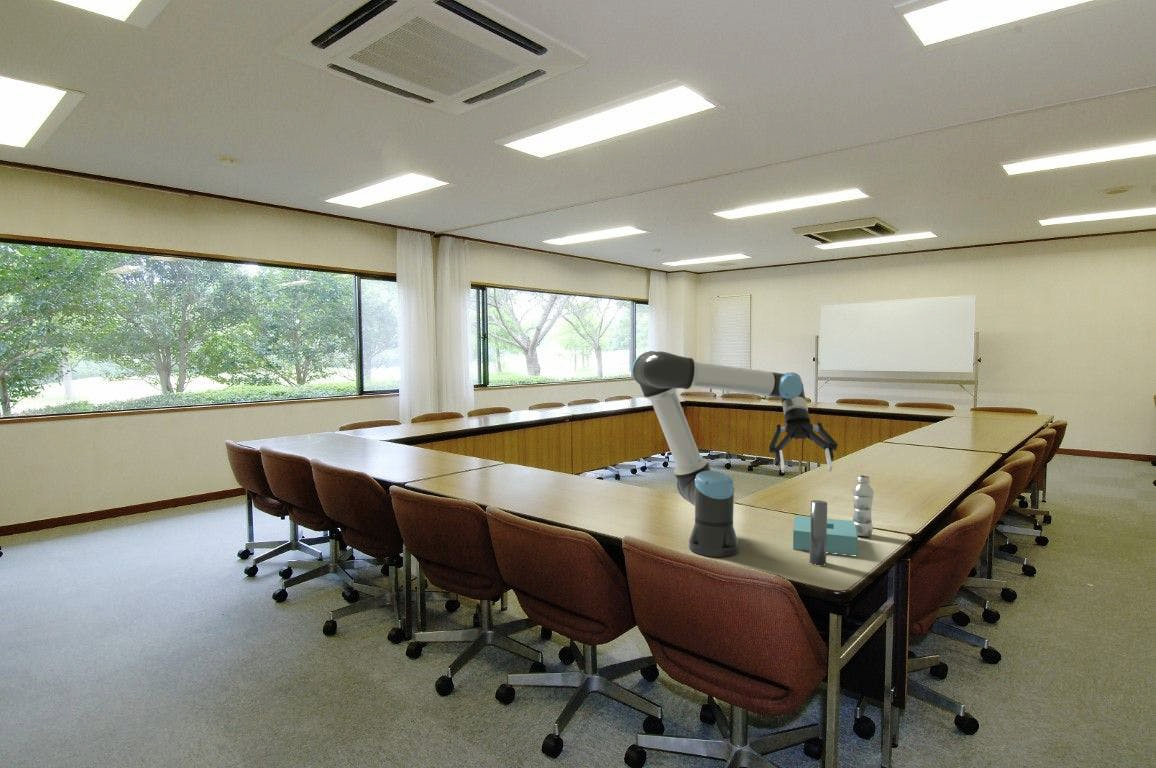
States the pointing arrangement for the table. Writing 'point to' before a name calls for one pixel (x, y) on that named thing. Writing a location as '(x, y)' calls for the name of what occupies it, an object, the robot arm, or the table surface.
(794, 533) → the socket block
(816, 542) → the pin
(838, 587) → the table surface
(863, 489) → the plastic bottle
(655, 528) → the table surface
